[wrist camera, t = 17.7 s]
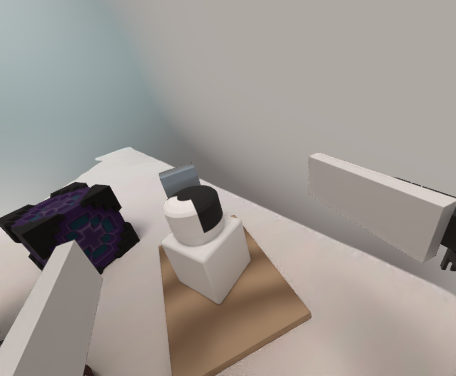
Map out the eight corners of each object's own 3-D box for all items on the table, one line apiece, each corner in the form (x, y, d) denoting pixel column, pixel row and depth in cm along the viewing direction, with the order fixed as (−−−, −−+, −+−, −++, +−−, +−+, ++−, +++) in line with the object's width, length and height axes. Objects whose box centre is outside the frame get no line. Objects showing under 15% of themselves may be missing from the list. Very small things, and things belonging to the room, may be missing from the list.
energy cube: (44, 273, 37) (-6, 220, 31) (105, 229, 45) (75, 182, 40) (75, 296, 30) (20, 235, 25) (140, 240, 39) (109, 185, 33)
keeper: (310, 317, 21) (305, 215, 15) (177, 397, 18) (103, 307, 12) (235, 219, 38) (218, 153, 32) (160, 250, 35) (127, 183, 29)
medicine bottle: (212, 245, 32) (188, 176, 26) (252, 260, 28) (233, 182, 22) (178, 281, 27) (141, 207, 22) (220, 307, 23) (187, 222, 17)
